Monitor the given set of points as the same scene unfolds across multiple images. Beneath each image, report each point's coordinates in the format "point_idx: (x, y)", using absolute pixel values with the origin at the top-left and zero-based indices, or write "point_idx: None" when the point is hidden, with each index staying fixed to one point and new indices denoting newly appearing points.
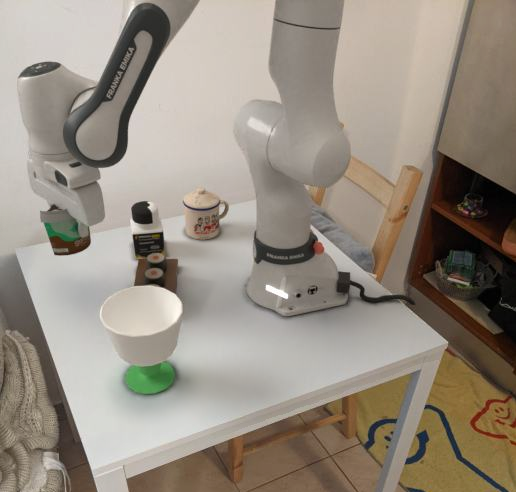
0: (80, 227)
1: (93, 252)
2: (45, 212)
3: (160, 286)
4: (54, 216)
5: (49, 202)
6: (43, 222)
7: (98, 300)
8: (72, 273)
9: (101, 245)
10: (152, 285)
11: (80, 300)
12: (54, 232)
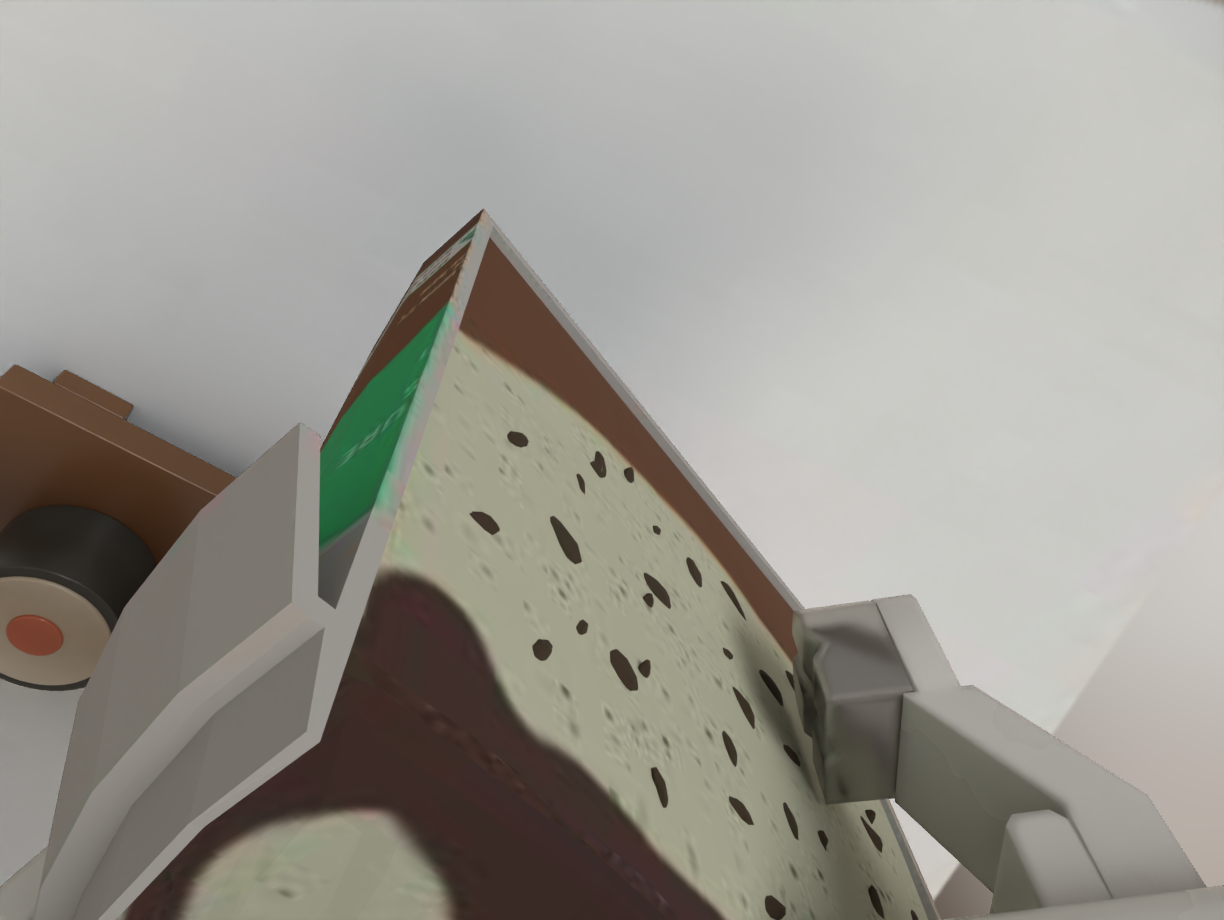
0: (30, 864)
1: (964, 513)
2: (182, 805)
3: (56, 689)
4: (52, 840)
5: (1084, 868)
6: (383, 464)
7: (392, 282)
8: (847, 286)
9: (993, 583)
10: (86, 658)
11: (471, 170)
12: (322, 459)
